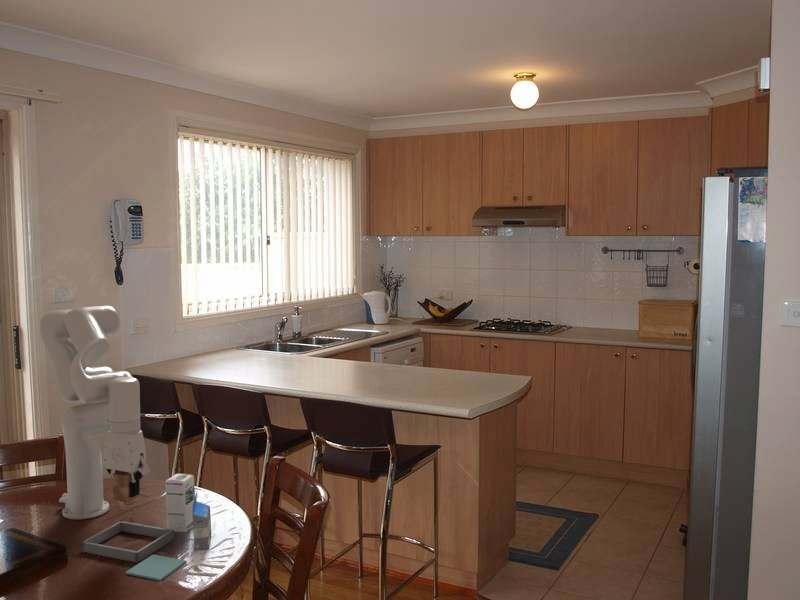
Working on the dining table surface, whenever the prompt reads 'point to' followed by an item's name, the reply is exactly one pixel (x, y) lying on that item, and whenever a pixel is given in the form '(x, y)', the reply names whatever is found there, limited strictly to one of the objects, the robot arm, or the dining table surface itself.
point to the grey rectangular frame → (135, 556)
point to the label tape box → (201, 525)
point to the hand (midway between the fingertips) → (126, 493)
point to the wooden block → (122, 486)
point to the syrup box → (180, 502)
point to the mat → (156, 567)
